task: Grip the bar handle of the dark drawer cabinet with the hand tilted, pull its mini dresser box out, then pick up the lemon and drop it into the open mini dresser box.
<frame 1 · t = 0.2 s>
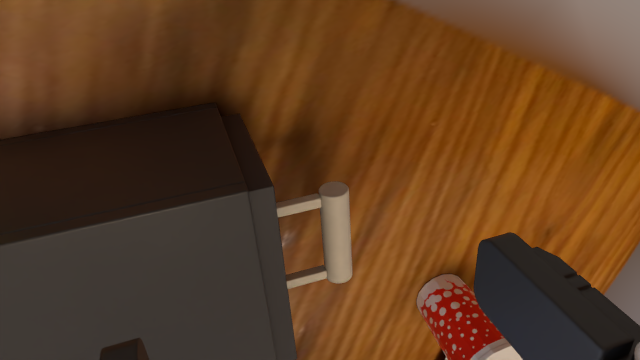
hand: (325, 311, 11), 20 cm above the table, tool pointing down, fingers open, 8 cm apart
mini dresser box: (177, 255, 27), point 5 cm above the table, slide at 0.0 cm
beverage cup: (438, 292, 44), on the table
dark drawer cabinet: (107, 219, 30), on the table
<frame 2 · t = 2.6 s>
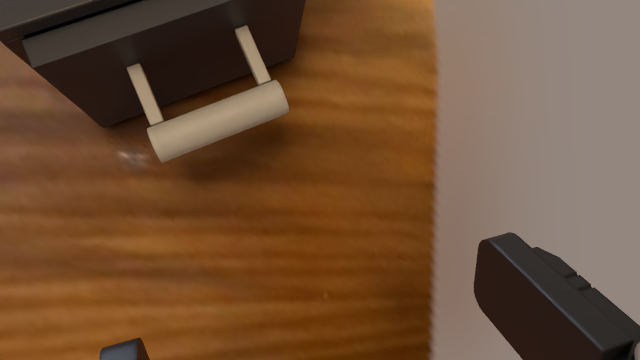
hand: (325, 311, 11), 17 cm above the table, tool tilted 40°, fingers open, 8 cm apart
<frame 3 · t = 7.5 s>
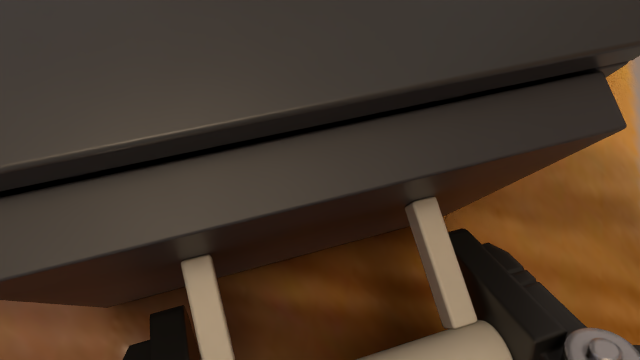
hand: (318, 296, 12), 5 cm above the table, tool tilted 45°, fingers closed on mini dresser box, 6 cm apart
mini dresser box: (254, 57, 13), point 5 cm above the table, slide at 0.0 cm, touching gripper
dark drawer cabinet: (224, 36, 19), on the table
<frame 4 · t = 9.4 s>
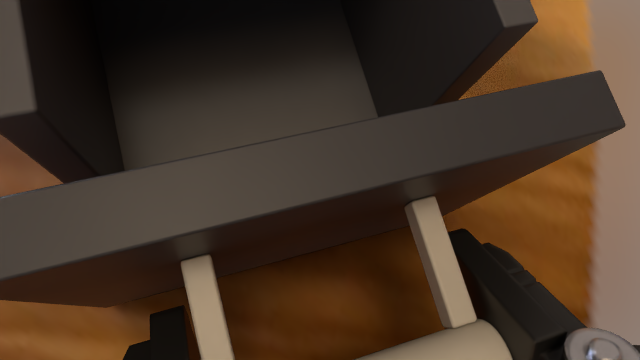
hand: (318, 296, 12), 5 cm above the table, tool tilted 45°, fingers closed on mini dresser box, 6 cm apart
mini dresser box: (253, 56, 13), point 5 cm above the table, slide at 5.3 cm, touching gripper
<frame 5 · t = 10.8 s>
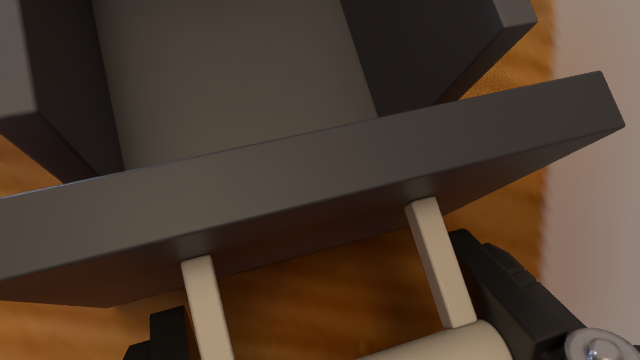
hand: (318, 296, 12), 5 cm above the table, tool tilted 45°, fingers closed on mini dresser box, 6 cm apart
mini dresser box: (253, 57, 13), point 5 cm above the table, slide at 9.9 cm, touching gripper
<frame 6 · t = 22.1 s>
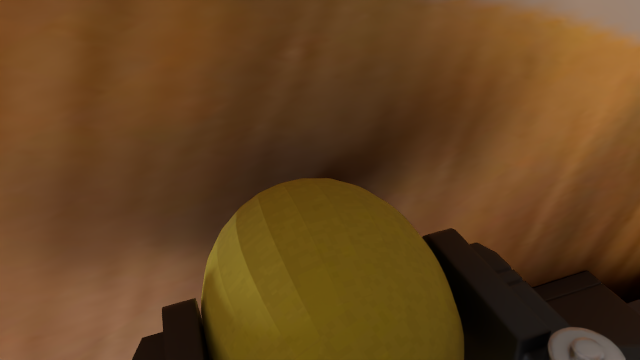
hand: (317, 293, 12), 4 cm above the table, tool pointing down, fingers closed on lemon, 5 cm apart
lemon: (280, 210, 15), on the table, touching gripper
when the fingers open (10 cm above the table, at t = 29.7 s): lemon drops 5 cm, resting on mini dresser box.
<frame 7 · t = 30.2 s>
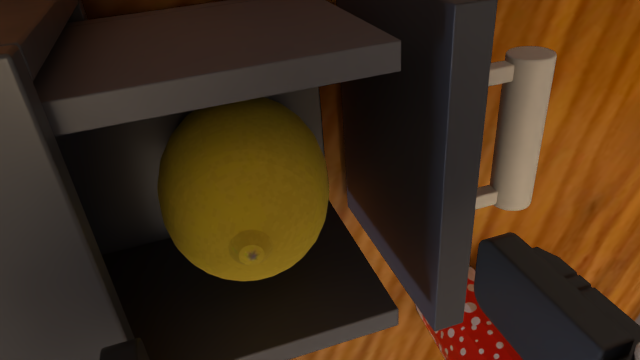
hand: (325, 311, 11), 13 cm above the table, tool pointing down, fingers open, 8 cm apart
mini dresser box: (282, 163, 17), point 5 cm above the table, slide at 9.4 cm, touching lemon
beverage cup: (445, 290, 32), on the table
lemon: (240, 130, 20), point 2 cm above the table, touching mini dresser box
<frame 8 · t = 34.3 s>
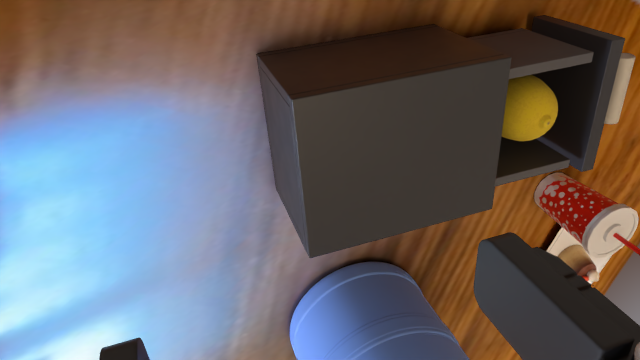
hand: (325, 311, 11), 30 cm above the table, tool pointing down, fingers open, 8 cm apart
water jug: (352, 311, 56), on the table
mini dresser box: (519, 101, 42), point 5 cm above the table, slide at 9.4 cm, touching lemon
dessert: (566, 257, 64), on the table
beverage cup: (549, 188, 57), on the table
dark drawer cabinet: (352, 109, 43), on the table
lemon: (486, 89, 45), point 2 cm above the table, touching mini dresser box
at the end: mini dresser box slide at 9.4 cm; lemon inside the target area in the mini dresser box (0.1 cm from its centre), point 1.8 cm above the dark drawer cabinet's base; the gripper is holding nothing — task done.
